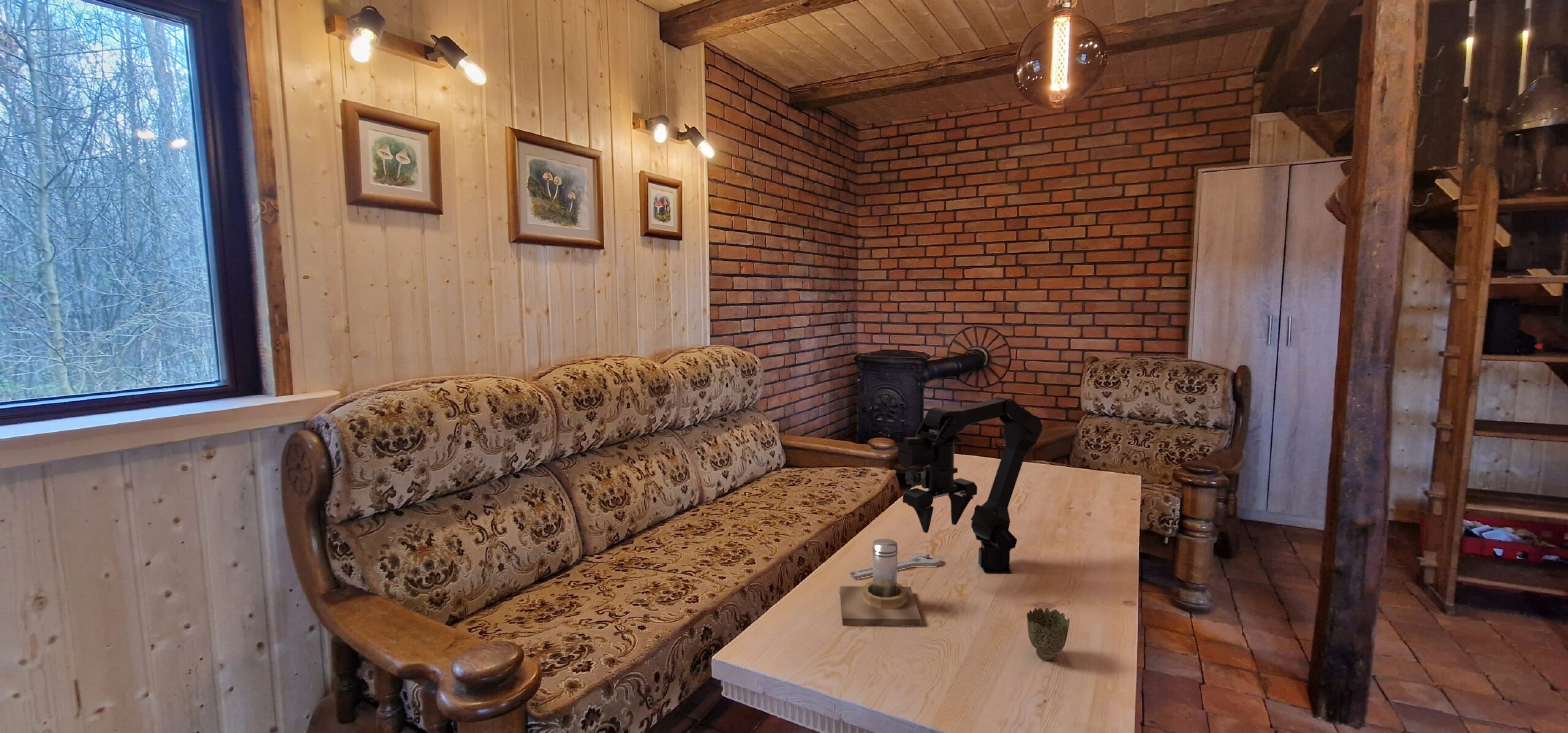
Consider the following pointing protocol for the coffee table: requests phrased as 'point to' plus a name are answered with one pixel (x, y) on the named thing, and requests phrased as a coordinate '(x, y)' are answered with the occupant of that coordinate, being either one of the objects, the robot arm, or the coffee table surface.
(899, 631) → the coffee table surface
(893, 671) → the coffee table surface
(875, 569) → the silver metal cylinder
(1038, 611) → the cup
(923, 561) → the adjustable wrench
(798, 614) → the coffee table surface
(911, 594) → the ring seat
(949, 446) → the robot arm
